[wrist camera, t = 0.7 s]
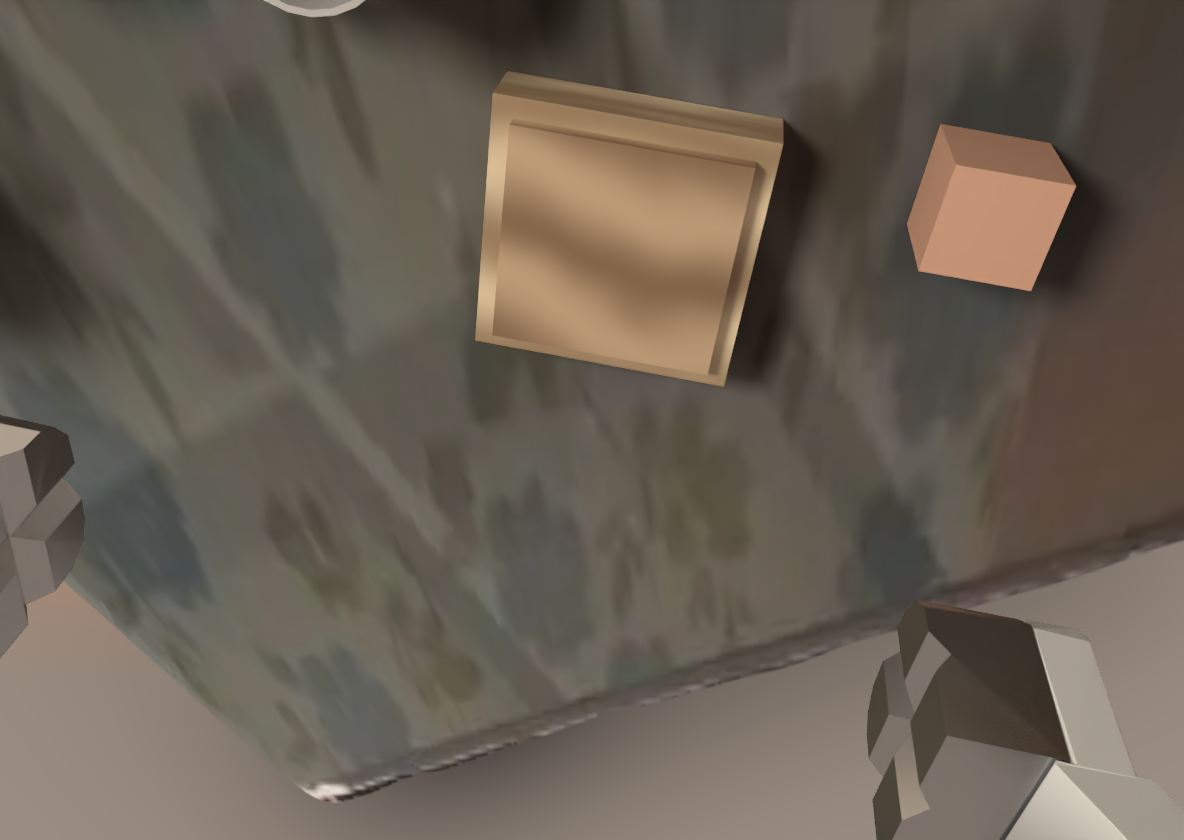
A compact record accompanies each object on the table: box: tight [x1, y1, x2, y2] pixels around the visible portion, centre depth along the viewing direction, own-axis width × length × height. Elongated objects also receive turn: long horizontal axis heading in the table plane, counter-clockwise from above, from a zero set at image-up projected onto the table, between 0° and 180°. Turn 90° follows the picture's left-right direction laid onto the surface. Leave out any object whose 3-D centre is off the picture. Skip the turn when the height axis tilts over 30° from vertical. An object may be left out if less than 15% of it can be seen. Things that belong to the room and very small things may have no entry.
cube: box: [907, 124, 1076, 291], centre depth 47 cm, size 5×5×5 cm
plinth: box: [475, 71, 783, 387], centre depth 50 cm, size 13×13×4 cm
